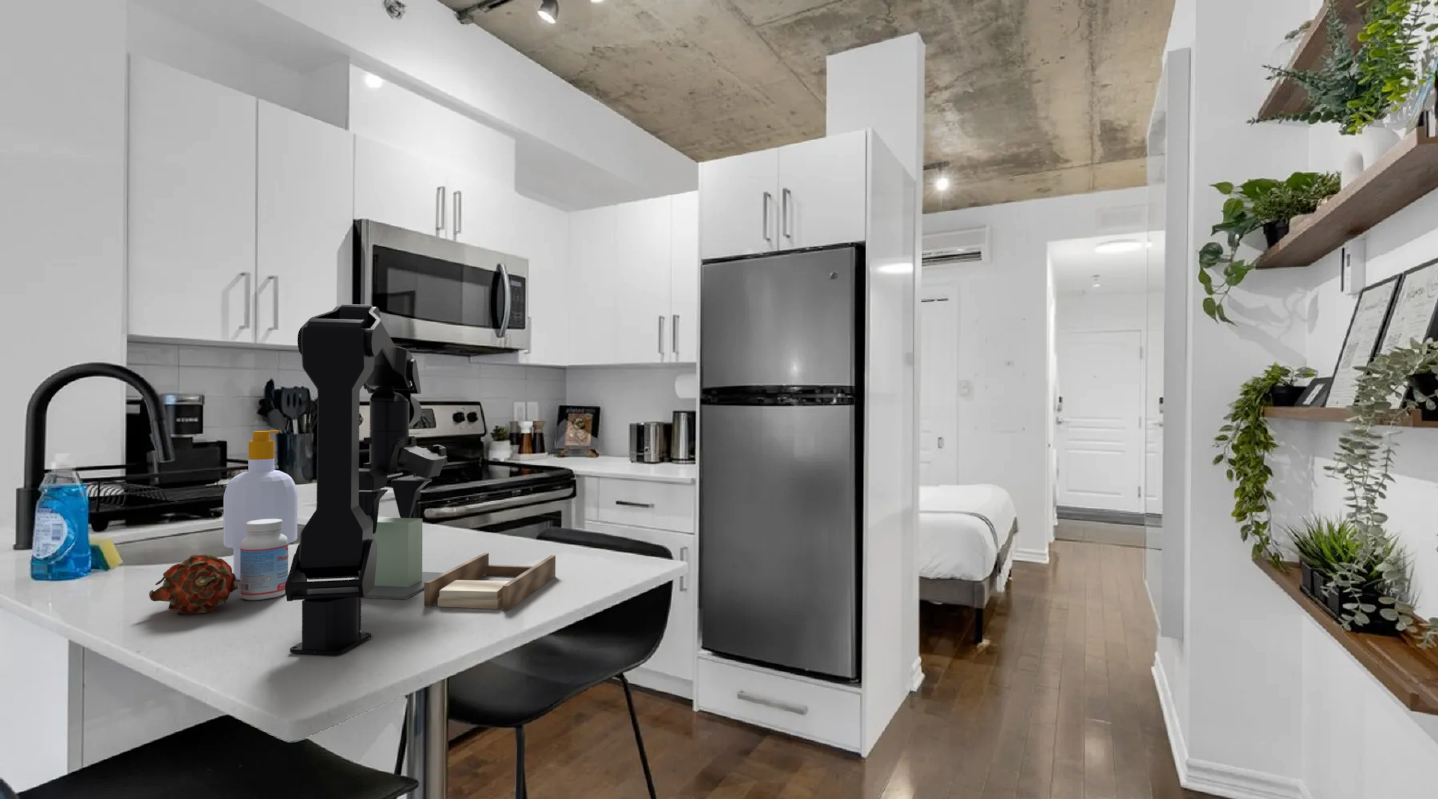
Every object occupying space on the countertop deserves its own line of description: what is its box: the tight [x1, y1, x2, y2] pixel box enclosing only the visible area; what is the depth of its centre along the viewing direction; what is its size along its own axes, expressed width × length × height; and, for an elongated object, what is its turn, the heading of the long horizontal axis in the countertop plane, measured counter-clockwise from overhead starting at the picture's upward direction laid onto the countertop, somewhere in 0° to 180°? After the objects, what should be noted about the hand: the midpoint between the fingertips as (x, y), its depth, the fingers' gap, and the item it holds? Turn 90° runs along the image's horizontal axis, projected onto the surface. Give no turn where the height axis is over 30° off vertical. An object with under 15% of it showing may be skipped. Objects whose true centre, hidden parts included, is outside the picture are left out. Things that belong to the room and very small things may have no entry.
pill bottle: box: [239, 519, 289, 601], centre depth 105 cm, size 6×6×11 cm
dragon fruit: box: [148, 554, 239, 615], centre depth 98 cm, size 8×8×12 cm
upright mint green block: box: [355, 516, 423, 587], centre depth 111 cm, size 4×9×10 cm, turn 83°
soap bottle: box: [223, 429, 298, 581], centre depth 116 cm, size 10×10×24 cm
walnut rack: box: [423, 552, 557, 612], centre depth 109 cm, size 19×13×4 cm, turn 173°
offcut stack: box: [437, 579, 510, 610], centre depth 103 cm, size 6×9×2 cm
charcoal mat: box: [353, 571, 444, 600], centre depth 111 cm, size 14×14×1 cm
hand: (389, 528), depth 111 cm, fingers open, 9 cm apart
